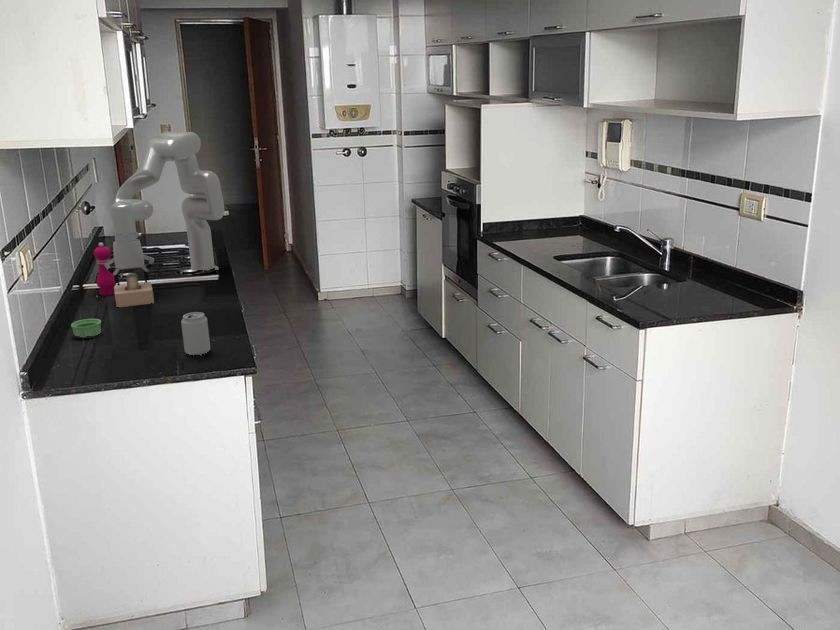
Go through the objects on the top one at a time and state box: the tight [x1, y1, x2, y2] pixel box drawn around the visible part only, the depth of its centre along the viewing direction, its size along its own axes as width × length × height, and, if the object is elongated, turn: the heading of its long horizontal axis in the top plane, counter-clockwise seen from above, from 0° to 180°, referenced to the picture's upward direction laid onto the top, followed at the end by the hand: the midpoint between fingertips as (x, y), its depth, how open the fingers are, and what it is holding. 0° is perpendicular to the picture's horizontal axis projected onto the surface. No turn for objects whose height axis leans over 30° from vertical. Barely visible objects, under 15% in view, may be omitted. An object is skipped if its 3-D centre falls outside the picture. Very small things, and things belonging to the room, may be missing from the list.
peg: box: [125, 272, 139, 290], centre depth 296 cm, size 4×4×10 cm
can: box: [180, 311, 211, 357], centre depth 239 cm, size 8×8×12 cm
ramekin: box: [70, 318, 102, 337], centre depth 259 cm, size 9×9×4 cm
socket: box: [114, 281, 155, 308], centre depth 297 cm, size 13×13×5 cm
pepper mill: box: [93, 242, 118, 297], centre depth 306 cm, size 7×7×20 cm
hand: (132, 283), depth 295 cm, fingers open, 9 cm apart
